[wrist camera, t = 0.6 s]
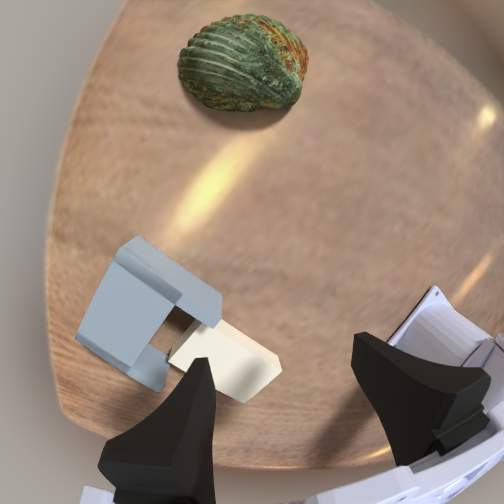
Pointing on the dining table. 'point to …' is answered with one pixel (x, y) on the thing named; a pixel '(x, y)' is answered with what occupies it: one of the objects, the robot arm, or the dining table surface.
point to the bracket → (143, 310)
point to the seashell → (244, 64)
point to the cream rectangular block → (227, 358)
